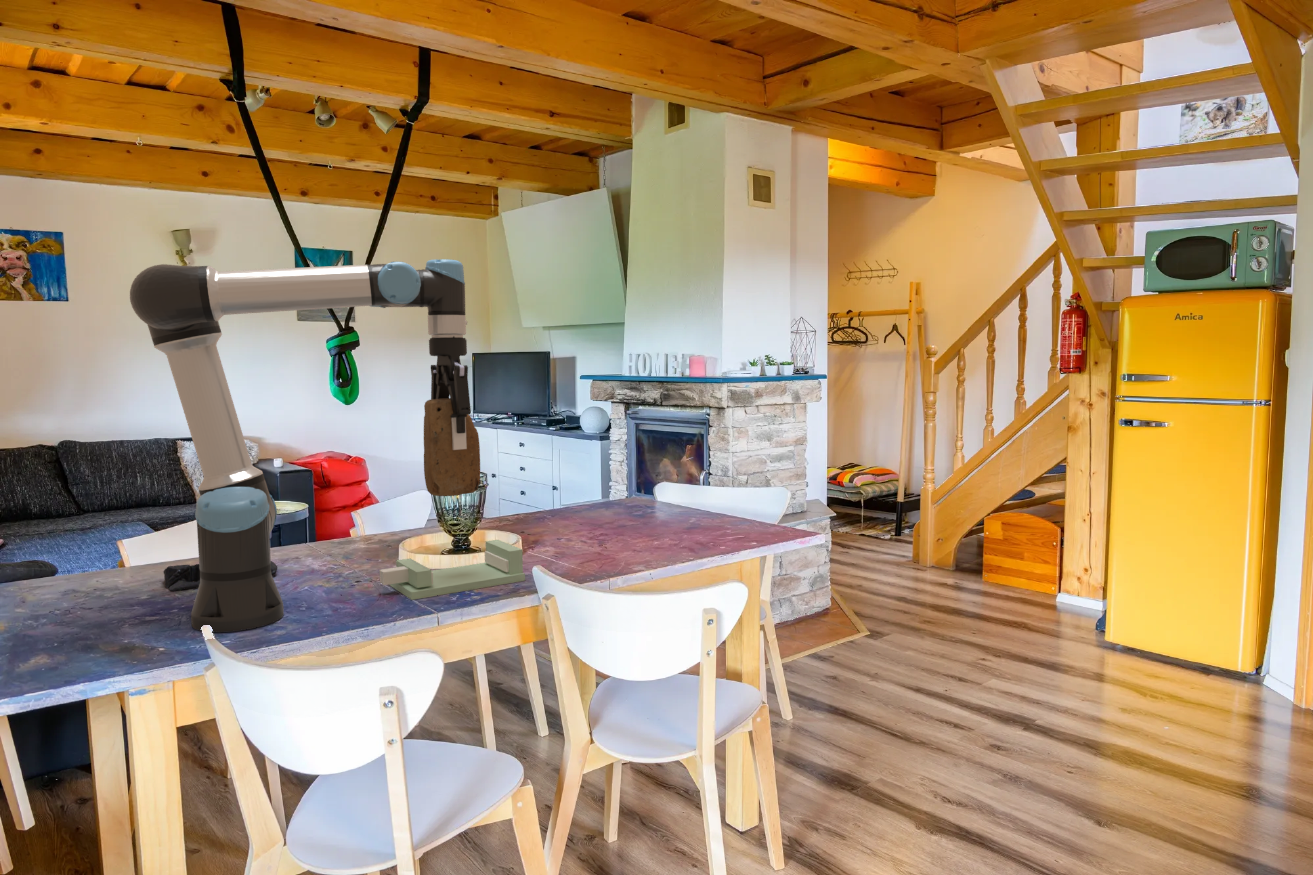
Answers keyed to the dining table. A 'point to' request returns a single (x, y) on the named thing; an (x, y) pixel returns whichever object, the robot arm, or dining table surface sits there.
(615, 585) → the dining table surface
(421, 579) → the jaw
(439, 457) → the block
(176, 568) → the dark slate chunk
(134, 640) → the dining table surface
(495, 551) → the vise
